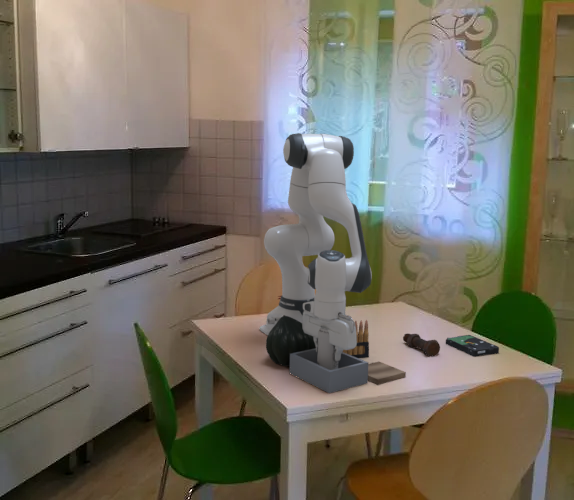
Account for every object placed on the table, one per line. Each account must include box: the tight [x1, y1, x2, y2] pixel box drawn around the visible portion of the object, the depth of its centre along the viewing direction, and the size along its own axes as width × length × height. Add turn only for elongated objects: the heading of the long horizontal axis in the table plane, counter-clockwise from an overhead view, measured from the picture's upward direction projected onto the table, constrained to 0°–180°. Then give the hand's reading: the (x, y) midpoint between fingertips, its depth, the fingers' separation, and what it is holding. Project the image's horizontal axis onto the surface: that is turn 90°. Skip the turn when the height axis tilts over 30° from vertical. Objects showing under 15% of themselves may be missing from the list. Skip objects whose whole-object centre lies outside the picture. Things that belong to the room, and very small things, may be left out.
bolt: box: [402, 333, 441, 357], centre depth 221 cm, size 6×5×15 cm
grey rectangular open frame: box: [289, 348, 369, 394], centre depth 193 cm, size 18×14×6 cm
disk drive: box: [445, 334, 500, 358], centre depth 223 cm, size 10×3×15 cm
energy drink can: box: [317, 326, 338, 370], centre depth 192 cm, size 6×6×15 cm
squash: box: [265, 315, 316, 367], centre depth 206 cm, size 14×15×15 cm
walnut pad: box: [368, 361, 407, 386], centre depth 197 cm, size 11×11×2 cm
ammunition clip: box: [343, 319, 370, 359], centre depth 211 cm, size 11×2×12 cm, turn 107°
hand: (328, 356), depth 192 cm, fingers closed on energy drink can, 6 cm apart
